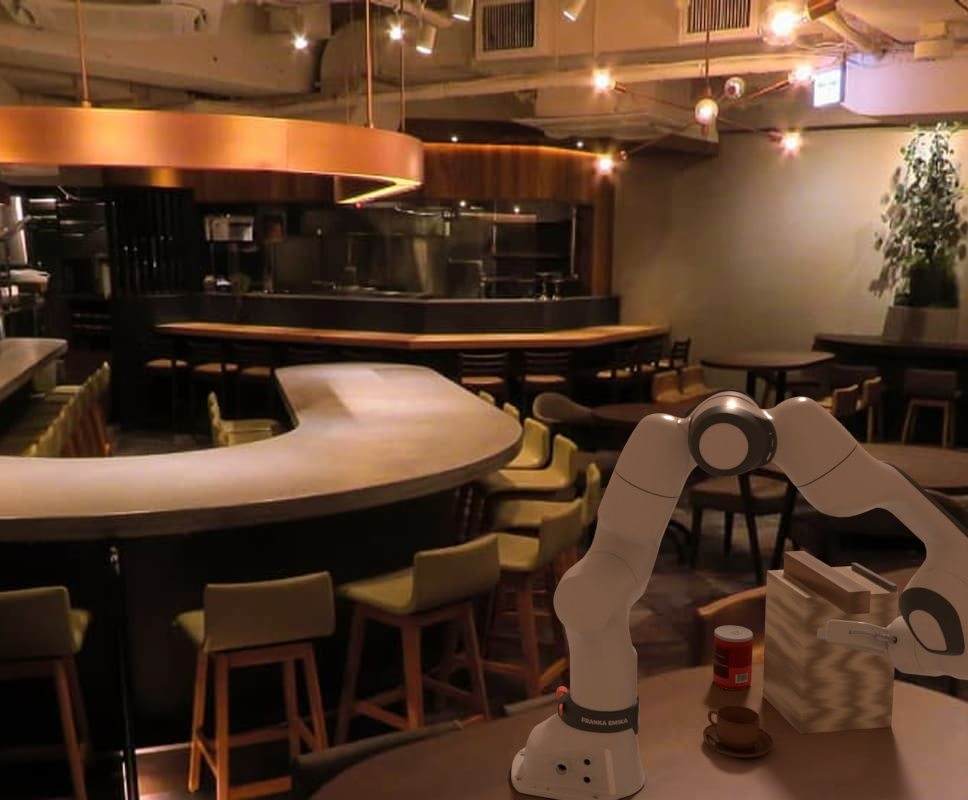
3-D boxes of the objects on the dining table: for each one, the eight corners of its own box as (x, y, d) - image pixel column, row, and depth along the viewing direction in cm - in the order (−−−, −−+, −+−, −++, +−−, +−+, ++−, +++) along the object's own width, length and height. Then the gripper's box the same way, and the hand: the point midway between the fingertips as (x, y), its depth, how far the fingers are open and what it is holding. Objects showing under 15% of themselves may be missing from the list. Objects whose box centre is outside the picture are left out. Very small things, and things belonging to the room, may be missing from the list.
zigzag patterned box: (800, 733, 169) (806, 591, 166) (762, 695, 185) (767, 564, 181) (891, 726, 172) (898, 586, 168) (846, 689, 187) (852, 560, 184)
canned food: (755, 679, 192) (757, 629, 191) (744, 694, 186) (746, 642, 184) (720, 671, 196) (721, 622, 195) (707, 685, 190) (709, 634, 188)
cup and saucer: (695, 754, 162) (695, 721, 162) (711, 725, 173) (712, 694, 172) (764, 770, 157) (765, 736, 156) (777, 740, 167) (778, 708, 167)
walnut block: (847, 614, 157) (849, 591, 157) (783, 571, 181) (784, 551, 181) (869, 613, 158) (870, 590, 157) (802, 570, 182) (803, 550, 181)
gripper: (871, 654, 138) (795, 647, 149) (950, 675, 147) (873, 667, 159) (873, 612, 139) (798, 608, 151) (951, 635, 149) (875, 630, 161)
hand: (837, 638), depth 155 cm, fingers open, 8 cm apart
